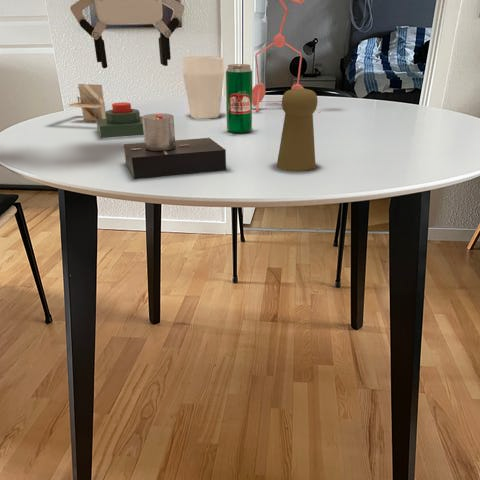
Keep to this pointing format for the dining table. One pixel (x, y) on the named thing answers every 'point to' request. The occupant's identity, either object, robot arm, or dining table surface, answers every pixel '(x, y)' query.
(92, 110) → the architectural model
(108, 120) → the block
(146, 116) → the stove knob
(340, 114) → the dining table surface
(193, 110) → the cup
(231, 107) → the soda can
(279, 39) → the pink branching rod frame
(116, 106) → the button
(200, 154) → the panel
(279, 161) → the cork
